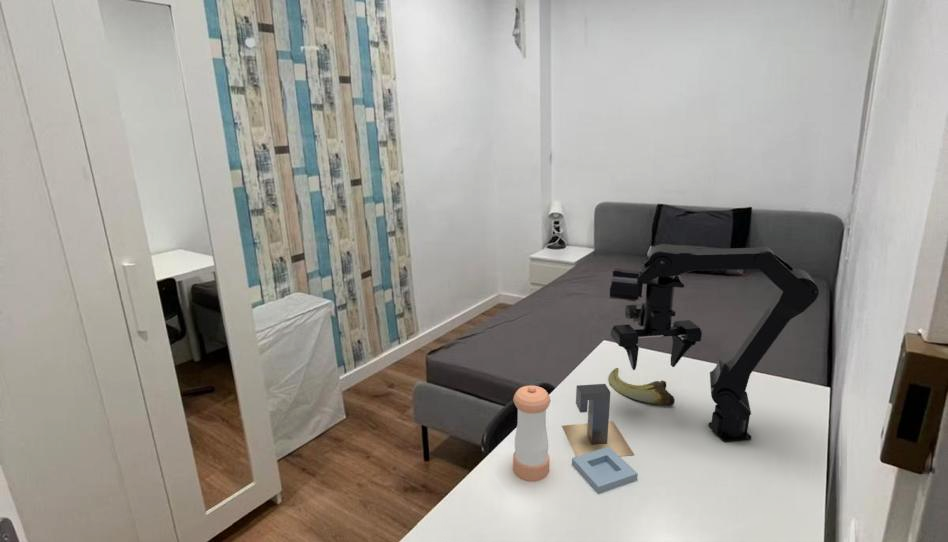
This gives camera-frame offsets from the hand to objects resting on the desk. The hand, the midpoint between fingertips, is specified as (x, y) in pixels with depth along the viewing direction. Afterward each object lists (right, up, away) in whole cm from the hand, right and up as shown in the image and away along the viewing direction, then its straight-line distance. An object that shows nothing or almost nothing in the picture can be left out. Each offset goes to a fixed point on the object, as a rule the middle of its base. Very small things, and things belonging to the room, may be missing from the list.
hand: (652, 367), depth 115 cm
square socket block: (-15, -18, -14) cm, 27 cm away
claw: (+2, -9, +16) cm, 19 cm away
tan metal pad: (-14, -15, -4) cm, 21 cm away
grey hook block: (-15, -15, -4) cm, 22 cm away
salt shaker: (-29, -19, -12) cm, 36 cm away
